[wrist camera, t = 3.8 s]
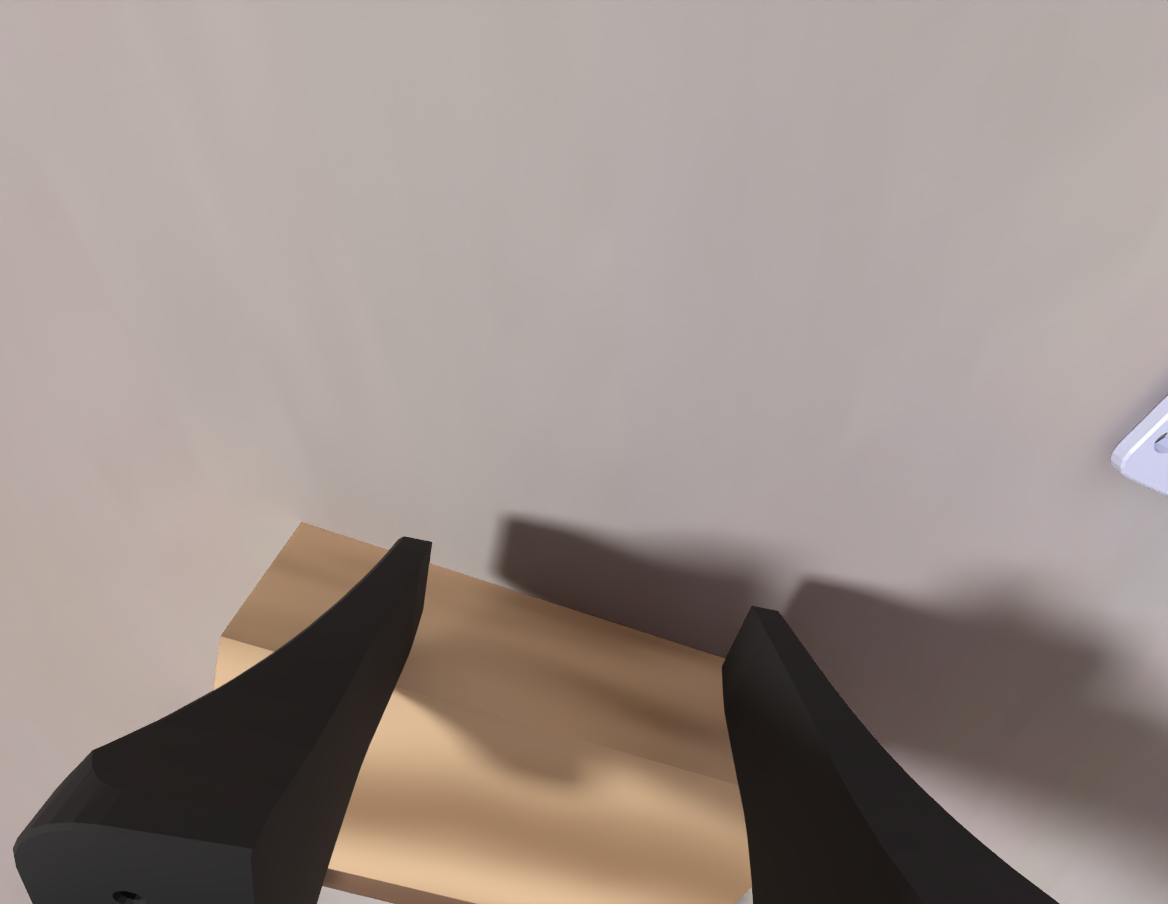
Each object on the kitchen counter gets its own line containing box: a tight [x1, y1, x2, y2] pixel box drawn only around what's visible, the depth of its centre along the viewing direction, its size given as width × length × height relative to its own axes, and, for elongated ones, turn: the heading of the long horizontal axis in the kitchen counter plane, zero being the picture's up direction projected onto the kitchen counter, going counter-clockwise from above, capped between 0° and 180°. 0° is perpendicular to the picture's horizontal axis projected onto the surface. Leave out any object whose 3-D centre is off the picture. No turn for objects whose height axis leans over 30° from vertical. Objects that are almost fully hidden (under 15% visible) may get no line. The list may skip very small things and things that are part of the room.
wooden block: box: [213, 522, 752, 904], centre depth 17 cm, size 8×14×4 cm, turn 68°
